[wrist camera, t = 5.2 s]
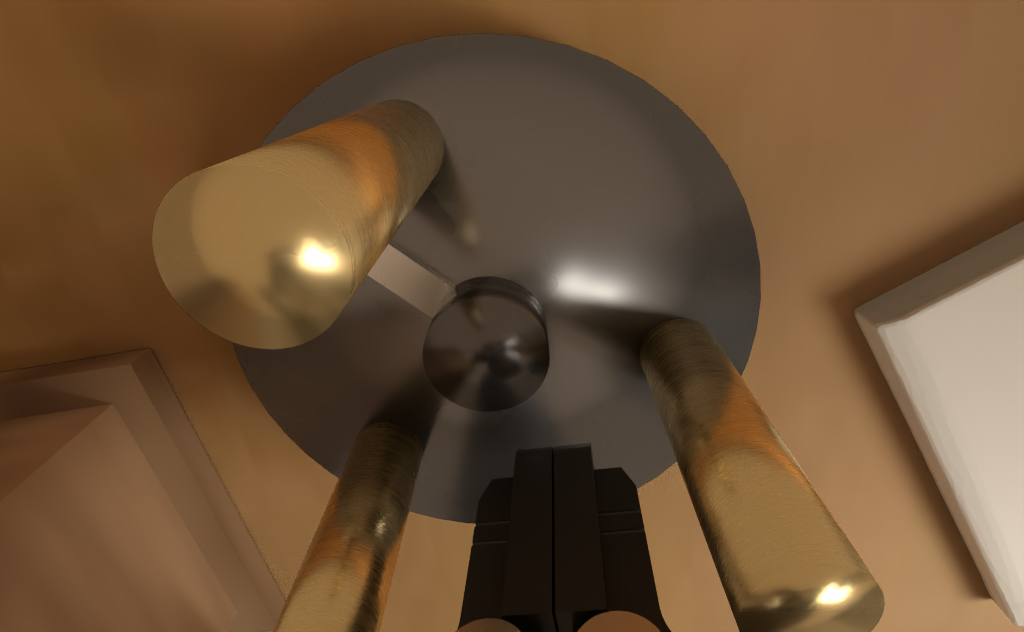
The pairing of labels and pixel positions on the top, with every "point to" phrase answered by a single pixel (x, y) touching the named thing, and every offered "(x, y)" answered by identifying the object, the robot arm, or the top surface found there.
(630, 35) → the top surface
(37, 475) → the brown angular box
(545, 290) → the three-bulb candle holder
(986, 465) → the external hard drive
